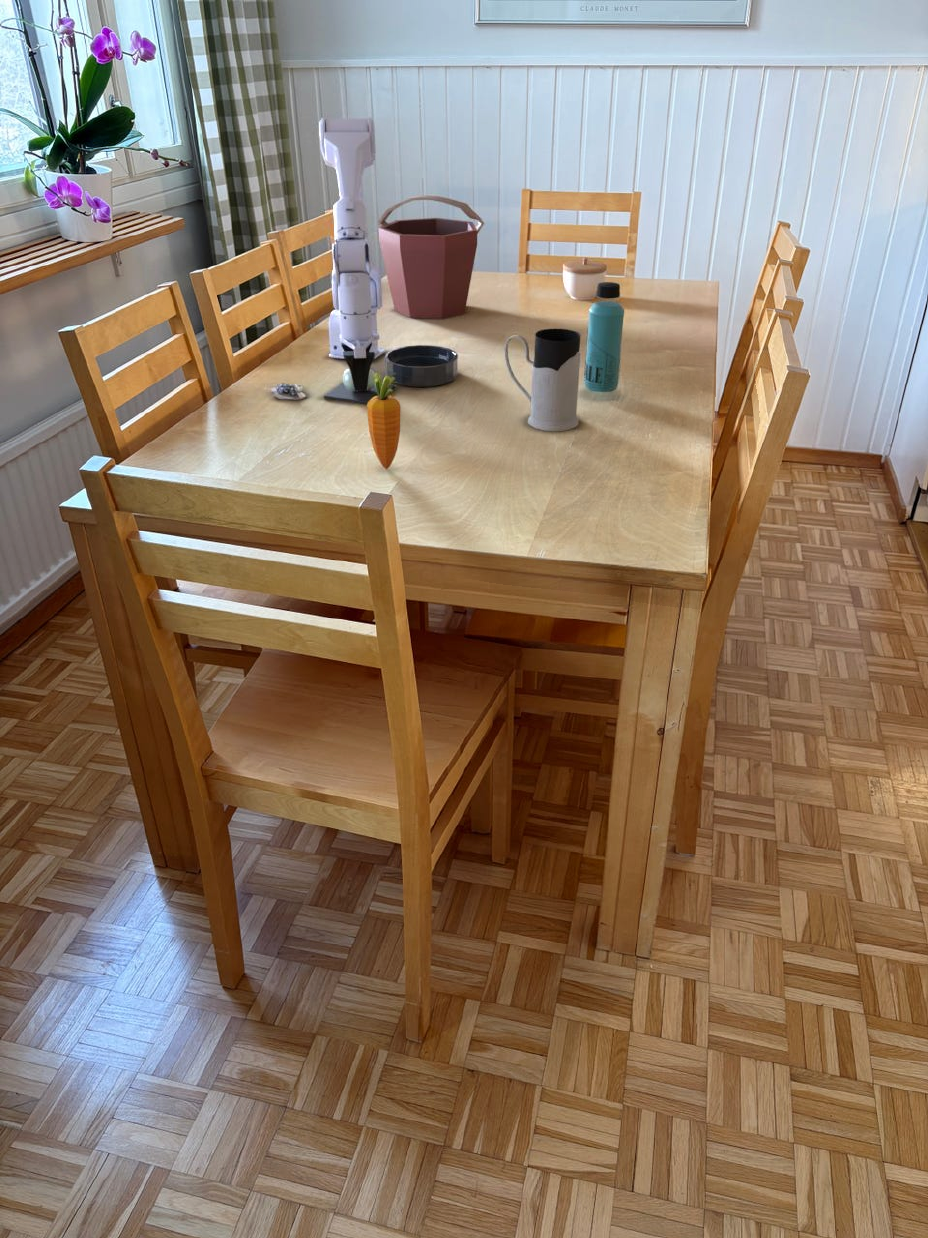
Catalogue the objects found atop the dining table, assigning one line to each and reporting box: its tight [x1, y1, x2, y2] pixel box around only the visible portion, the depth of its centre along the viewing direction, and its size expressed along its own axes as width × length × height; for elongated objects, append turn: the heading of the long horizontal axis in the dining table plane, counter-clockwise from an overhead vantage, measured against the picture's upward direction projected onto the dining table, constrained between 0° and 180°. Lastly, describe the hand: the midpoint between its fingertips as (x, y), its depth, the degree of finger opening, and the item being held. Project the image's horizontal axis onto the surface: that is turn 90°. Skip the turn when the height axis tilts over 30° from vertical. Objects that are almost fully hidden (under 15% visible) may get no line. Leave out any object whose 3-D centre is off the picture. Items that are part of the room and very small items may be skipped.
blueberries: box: [270, 382, 307, 401], centre depth 173 cm, size 7×8×2 cm
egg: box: [342, 367, 376, 391], centre depth 173 cm, size 6×4×4 cm
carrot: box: [366, 372, 401, 470], centre depth 141 cm, size 5×5×15 cm
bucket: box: [378, 195, 485, 320], centre depth 217 cm, size 24×22×25 cm
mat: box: [323, 382, 397, 405], centre depth 174 cm, size 10×10×1 cm
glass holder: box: [504, 328, 582, 432], centre depth 159 cm, size 9×14×15 cm, turn 58°
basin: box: [384, 344, 459, 388], centre depth 181 cm, size 14×14×4 cm
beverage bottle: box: [583, 281, 626, 393], centre depth 168 cm, size 6×7×20 cm
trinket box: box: [562, 257, 608, 301], centre depth 232 cm, size 11×11×9 cm
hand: (359, 385), depth 173 cm, fingers closed on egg, 4 cm apart
